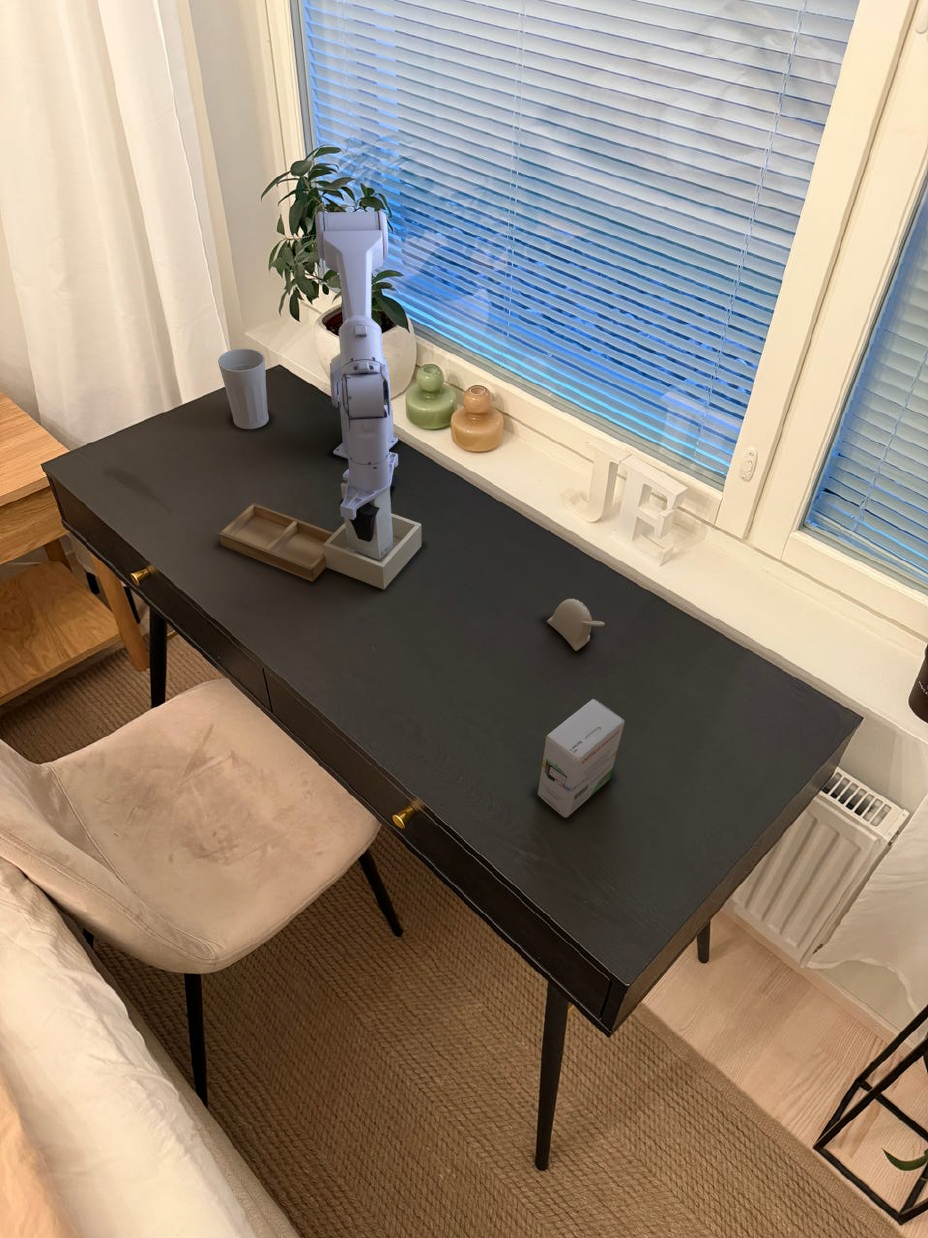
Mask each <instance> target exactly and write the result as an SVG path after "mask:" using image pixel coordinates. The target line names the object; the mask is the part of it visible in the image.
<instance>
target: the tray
mask: <svg viewBox="0 0 928 1238" xmlns="http://www.w3.org/2000/svg"><path fill="white" fill-rule="evenodd" d="M334 533H335V532H332V531H331V530H327V529H326V528H325V529H324V528H321V527H320V526H316V525H313V524H311V523H309V522H306V521H303V520H300V519H297V518H295V517H292V516H290V515H288V514H284V513H282V512H280V511H277V510H273V509H271V508H269V507H265V506H263V505H260V504H258V503H255V502H253V503H252V504H251V505H250V506H248V507H247V508H246V509H245V510H244V511H242V512H241V513H240V515H238V516H237V517H236V518H234V520H232V521H231V522H230V523H229V524H228V525H227V526H225V528H224V529H222V530H221V531H220V532H219V533H218V536H219V541H220V545H221V546H222V547H225V548H226V549H229V550H232V551H234V552H237V553H240V554H242V555H245V556H247V557H249V558H253V559H255V560H256V561H259V562H262V563H265V564H267V565H269V566H272V567H275V568H277V569H280V570H282V571H285V572H286V573H289V574H292V575H295V576H298V577H300V578H302V579H304V580H308V581H310V582H312V583H313V582H314V581H315V580H316V579H317V578H318V577H319V576H320V575H321V574H322V572H323V571H325V570H326V568H327V567H326V559H325V555H324V548H323V544H324V543H325V542H326V541H327V540H328V539H329V538H330V537H331V536H332V535H333V534H334Z"/></svg>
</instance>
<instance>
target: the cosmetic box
mask: <svg viewBox="0 0 928 1238" xmlns="http://www.w3.org/2000/svg"><path fill="white" fill-rule="evenodd" d="M347 483H348V481H346V480H344V481H342V483H340V490H341V492H340V493H341V498H342V499H343V498H344V496H345V492H346V488H347ZM342 499H341V500H342ZM369 504H370V505H372V506H376V507H379V508H380V509H379V511H378V512H377V515H376V518H375V522H374V532H373V537H372V540H371V541H370V542H367V541H364V540H360V539H358V537H357V535H356V532H355V530H354V528H353V525H352V523H351V522H350V520H349V519H348V518H345V517H343V518H344V523H345V527H346V536H347V545H348V548H350V549H353V550H355V551H358V552H360V553H363V554H365V555H368V556H370V557H373V558H375V559H378V560H380V559H381V558H382V557H383V556H384V555H385V554H386V553H387V552H389V551H390V550H391V549H392V547H393V533H392V517H391V513H392V502H391V501H390V488H389V489H388V490H387V491H386V492H384V493H382V494H381V495H379V496H377V497H376V498H374V499H372V500H371V501H369Z"/></svg>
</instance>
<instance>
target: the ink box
mask: <svg viewBox="0 0 928 1238" xmlns="http://www.w3.org/2000/svg"><path fill="white" fill-rule="evenodd" d="M625 723H626V722H625V719H623V718H622V717H620V715H618V714H617V713H616V712H614V711H613V710H611V708H609V707H607V706H606V705H604V704H603V703H601V702H600V701H598V700H597V699H594V698H592V699H591V700H589V701H588V702H587V703H586V704H584V705H583V706H582V707H581V708H579V709H578V710H577V711H575V712H574V713H573V714H571V716H569V717H567V718H566V720H564V721H563V722H562V723H560V724H559V725H558V726H557V727H556V728H554V729H553V730H552V731H550V732H549V733H548V734H547V735H546V737H545V744H544V750H543V757H542V764H541V771H540V776H539V783H538V789H537V796H538V797H540V798H541V800H543V801H544V802H545V803H546V804H547V805H548V806H550V807H551V808H552V809H553V810H554V811H555V812H557V813H558V814H559V815H560V816H562V817H563V818H565V819H566V818H568V817H570V815H572V814H573V813H574V812H575V811H576V810H577V809H578V808H580V807H581V806H582V805H583V804H584V803H586V801H587V800H588V799H590V798H591V797H592V796H593V795H595V793H596V792H597V791H599V790H600V788H602V787H603V786H604V785H606V783H608V781H610V780H611V777H612V773H613V768H614V763H615V760H616V757H617V754H618V749H619V745H620V741H621V737H622V734H623V731H624V725H625Z"/></svg>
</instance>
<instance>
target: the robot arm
mask: <svg viewBox="0 0 928 1238" xmlns="http://www.w3.org/2000/svg"><path fill="white" fill-rule="evenodd" d="M314 218H315V219H314V220H315V231H316V243H317V244H316V246H317V254H318V258H320V259H321V261H322V262H324V265H325V267H326V268H327V269H329V270H331V271H334V272H335V273H337V274H339V283H340V297H341V311H342V324H341V326H340V327H339V329H338V337H339V338H338V340H339V341H338V342H339V353H338V354H337V355H335V356H333V358H331V359H330V363H329V384H330V385H329V386H330V395H331V397H330V398H331V405H332V406H333V407H335V408H336V409H337V408H339V414H340V425H341V436H342V442H341V443H340V444H339V445H338V446H337V447H336V448H335V449H334V450H333V451H332V453H333V455H336V456H338V457H341V458H344V459H347V462H348V463H347V464H348V469H346V470H345V471H344V473H343V474H342V479H343V480H344V481H345V480H346V481H348V483H347V488H346V492H345V496H344V498H343V499H341V500H340V501H339V511H340V512H339V513H340V518H341V517H342V518H344V517H345V518H348V519H349V520H350V522H351V523H352V525H353V528H354V530H355V532H356V535H357V537H358V539H360V540H364V541H367V542H370V541H371V540H372V537H373V532H374V522H375V518H376V515H377V512H378V511H379V509H380V508H379V507H376V506H372V505H370V504H369V501H371V500H372V499H374V498H376V497H377V496H379V495H381V494H382V493H384V492H386V491H387V490H388V489H389V488H390V501H391V503H392V501H393V498H394V495H395V493H396V491H397V489H398V487H399V485H400V484H401V478H400V477H399V476H398V475H394V469H395V468H397V467H398V466H399V454H398V453H395V452H391V451H390V450H391V448H393V447H394V446H395V445H396V444H397V443H398V442H399V438H398V437H396V436H395V431H394V429H395V428H394V408H393V405H392V396H391V395H392V394H391V382H390V379H391V378H390V371H389V363H388V361H387V358H386V357H385V356H384V347H383V334H382V328H381V326H380V325H379V324H378V323H377V322H376V321H375V320H374V319H373V318H372V273H373V272H374V271H376V270H377V269H380V268H381V267H382V266H383V265H384V260H385V259H386V257H387V256H388V255H389V231H388V218H387V215H386V213H384V211H383V210H382V209H381V210H377V211H347V212H346V211H342V212H341V211H340V212H339V211H334V212H323V211H318V212H317V214H316V215H315V217H314ZM345 518H344V519H345Z"/></svg>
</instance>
